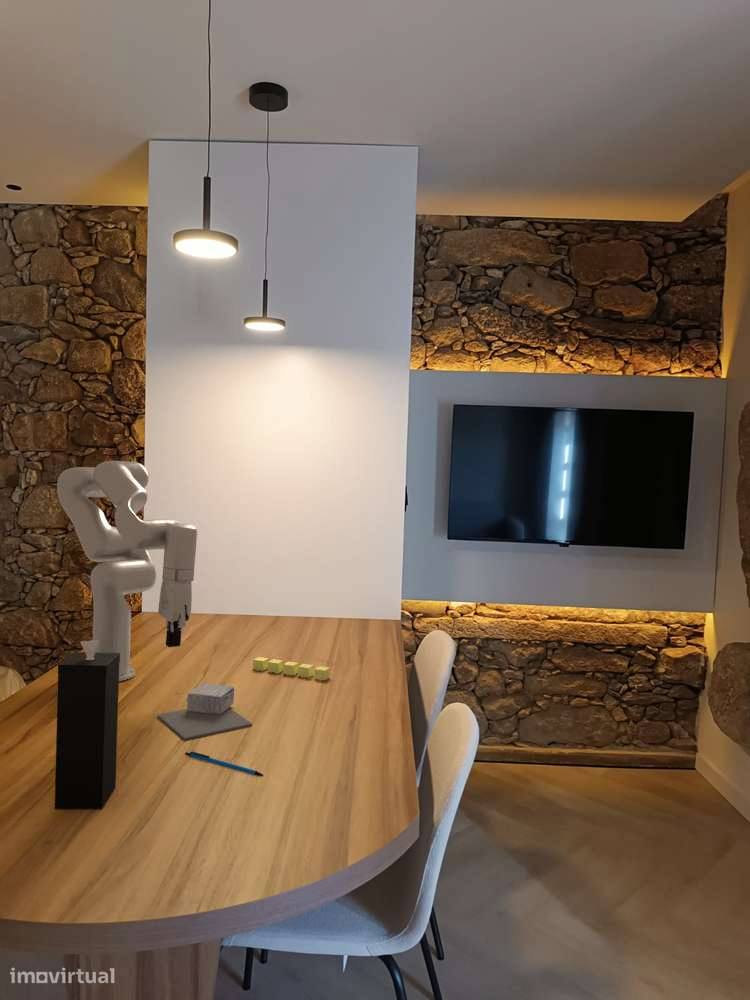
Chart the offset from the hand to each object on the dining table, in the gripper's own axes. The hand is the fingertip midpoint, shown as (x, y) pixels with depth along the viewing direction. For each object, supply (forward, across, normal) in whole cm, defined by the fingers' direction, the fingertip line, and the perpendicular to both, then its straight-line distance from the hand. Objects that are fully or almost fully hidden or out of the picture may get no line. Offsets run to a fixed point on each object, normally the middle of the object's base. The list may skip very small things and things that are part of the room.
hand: (172, 645), depth 169 cm
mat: (+12, +20, +1) cm, 23 cm away
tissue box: (+12, +43, -31) cm, 54 cm away
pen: (+11, +43, -6) cm, 45 cm away
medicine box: (+10, +10, +2) cm, 14 cm away
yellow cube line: (+13, -3, +38) cm, 40 cm away
